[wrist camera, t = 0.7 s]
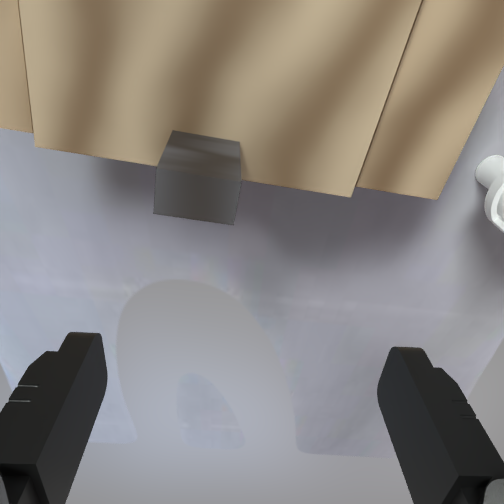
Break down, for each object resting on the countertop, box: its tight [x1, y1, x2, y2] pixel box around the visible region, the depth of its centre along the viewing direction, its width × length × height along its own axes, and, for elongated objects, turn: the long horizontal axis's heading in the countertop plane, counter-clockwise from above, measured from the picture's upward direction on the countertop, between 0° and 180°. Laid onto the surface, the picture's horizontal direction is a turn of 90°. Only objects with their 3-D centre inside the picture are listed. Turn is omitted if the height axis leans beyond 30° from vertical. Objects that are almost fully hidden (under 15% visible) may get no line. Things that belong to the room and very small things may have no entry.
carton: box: [0, 0, 504, 200], centre depth 25 cm, size 33×18×12 cm, turn 79°
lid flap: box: [19, 0, 422, 225], centre depth 18 cm, size 20×18×7 cm
